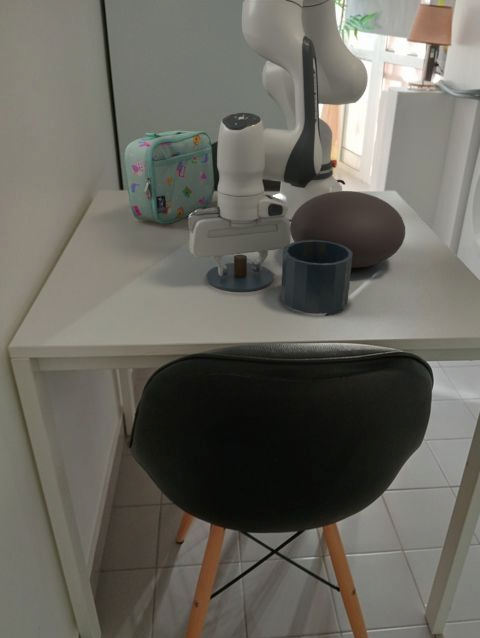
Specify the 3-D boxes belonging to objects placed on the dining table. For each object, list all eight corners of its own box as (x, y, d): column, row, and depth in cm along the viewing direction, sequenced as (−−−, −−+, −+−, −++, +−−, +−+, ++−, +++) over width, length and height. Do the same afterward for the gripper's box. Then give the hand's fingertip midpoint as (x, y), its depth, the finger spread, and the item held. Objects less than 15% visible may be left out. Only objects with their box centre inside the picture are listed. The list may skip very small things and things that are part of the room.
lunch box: (157, 232, 148) (151, 141, 137) (124, 224, 152) (116, 135, 141) (218, 205, 168) (217, 124, 157) (188, 199, 172) (185, 120, 162)
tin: (301, 282, 124) (303, 235, 119) (357, 297, 118) (363, 249, 113) (269, 304, 114) (270, 254, 109) (329, 322, 109) (334, 270, 104)
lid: (231, 263, 132) (231, 240, 129) (285, 277, 126) (286, 253, 123) (193, 284, 122) (192, 259, 119) (250, 300, 116) (250, 275, 113)
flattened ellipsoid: (408, 251, 141) (418, 187, 134) (390, 292, 121) (400, 219, 113) (306, 236, 148) (310, 174, 141) (272, 273, 128) (275, 203, 120)
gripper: (191, 214, 110) (194, 284, 117) (295, 205, 117) (291, 272, 124) (183, 204, 115) (186, 272, 122) (283, 196, 122) (280, 261, 129)
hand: (240, 272), depth 123 cm, fingers open, 6 cm apart
